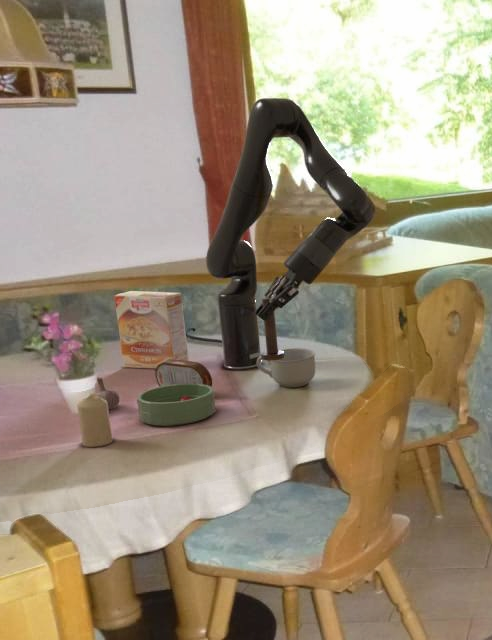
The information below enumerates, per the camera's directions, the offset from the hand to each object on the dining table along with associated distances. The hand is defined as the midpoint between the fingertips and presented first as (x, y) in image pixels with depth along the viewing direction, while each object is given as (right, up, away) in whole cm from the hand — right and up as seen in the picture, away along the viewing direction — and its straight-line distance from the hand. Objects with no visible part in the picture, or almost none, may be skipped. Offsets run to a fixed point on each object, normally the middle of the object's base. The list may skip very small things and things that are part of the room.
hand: (259, 316), depth 231 cm
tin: (-23, -18, +15) cm, 33 cm away
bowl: (-18, -23, -2) cm, 29 cm away
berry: (-17, -20, +1) cm, 26 cm away
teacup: (-2, -16, +24) cm, 29 cm away
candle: (-27, -27, -19) cm, 43 cm away
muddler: (+2, -9, +4) cm, 10 cm away
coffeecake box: (-43, -11, +41) cm, 60 cm away
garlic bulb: (-37, -22, +3) cm, 43 cm away
